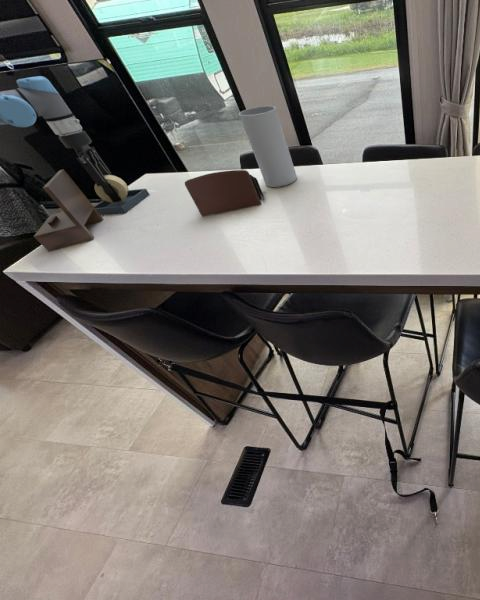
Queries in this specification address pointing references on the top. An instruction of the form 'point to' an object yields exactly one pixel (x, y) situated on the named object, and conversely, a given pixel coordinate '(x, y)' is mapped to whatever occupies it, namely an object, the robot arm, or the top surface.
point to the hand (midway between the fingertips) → (118, 198)
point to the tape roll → (118, 187)
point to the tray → (122, 203)
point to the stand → (67, 215)
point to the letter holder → (224, 191)
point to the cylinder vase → (269, 145)
